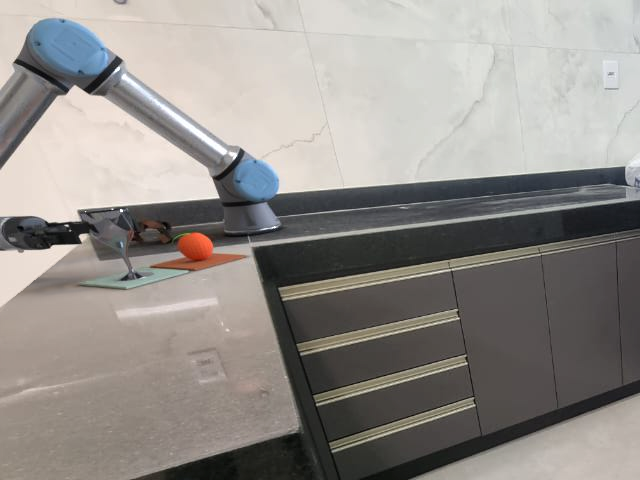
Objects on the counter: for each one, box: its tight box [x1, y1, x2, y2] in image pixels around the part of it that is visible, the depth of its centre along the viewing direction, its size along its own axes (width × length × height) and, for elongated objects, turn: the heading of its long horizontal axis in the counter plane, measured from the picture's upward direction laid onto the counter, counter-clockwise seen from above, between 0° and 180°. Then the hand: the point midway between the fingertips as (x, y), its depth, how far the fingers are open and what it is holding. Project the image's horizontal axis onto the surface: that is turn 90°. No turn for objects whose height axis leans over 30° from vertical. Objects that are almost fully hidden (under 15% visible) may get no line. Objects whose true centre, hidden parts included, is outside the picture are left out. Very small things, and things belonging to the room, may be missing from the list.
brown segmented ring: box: [130, 217, 174, 244], centre depth 160 cm, size 12×10×8 cm
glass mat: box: [79, 266, 189, 290], centre depth 122 cm, size 13×16×1 cm
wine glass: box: [78, 206, 154, 281], centre depth 119 cm, size 8×8×15 cm
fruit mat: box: [149, 252, 247, 272], centre depth 135 cm, size 13×16×1 cm
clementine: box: [171, 231, 214, 260], centre depth 133 cm, size 8×7×7 cm
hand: (108, 230), depth 118 cm, fingers open, 13 cm apart
